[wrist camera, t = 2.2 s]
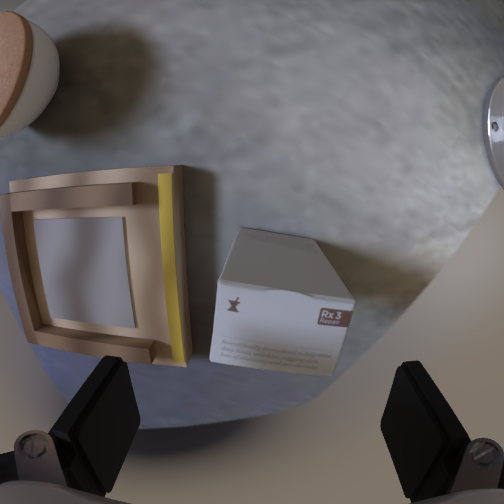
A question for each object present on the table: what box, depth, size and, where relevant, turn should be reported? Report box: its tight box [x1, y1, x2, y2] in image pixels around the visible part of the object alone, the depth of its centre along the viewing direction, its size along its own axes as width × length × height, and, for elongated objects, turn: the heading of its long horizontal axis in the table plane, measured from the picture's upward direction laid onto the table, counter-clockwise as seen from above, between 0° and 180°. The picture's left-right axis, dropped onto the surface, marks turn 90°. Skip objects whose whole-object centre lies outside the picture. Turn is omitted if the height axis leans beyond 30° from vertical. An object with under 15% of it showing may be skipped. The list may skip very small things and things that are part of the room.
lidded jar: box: [0, 11, 60, 137], centre depth 17 cm, size 11×11×9 cm
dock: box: [0, 165, 193, 367], centre depth 24 cm, size 16×16×4 cm
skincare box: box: [209, 228, 356, 377], centre depth 19 cm, size 6×4×12 cm
